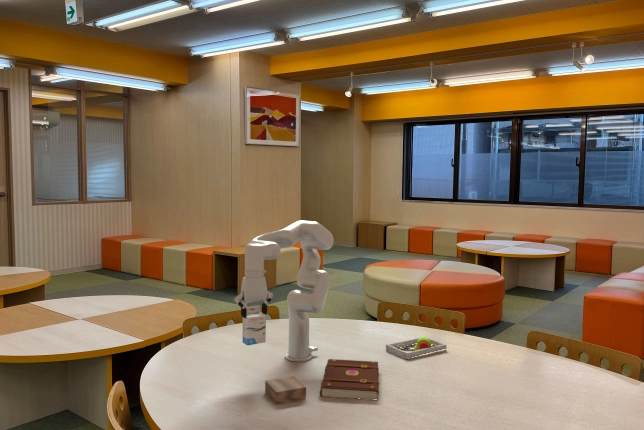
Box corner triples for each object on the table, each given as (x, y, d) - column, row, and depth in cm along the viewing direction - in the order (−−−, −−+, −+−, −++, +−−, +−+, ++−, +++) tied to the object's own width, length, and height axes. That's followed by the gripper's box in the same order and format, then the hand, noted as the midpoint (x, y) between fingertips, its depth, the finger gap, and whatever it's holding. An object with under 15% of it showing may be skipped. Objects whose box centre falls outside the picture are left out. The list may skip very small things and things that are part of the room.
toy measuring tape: (436, 354, 254) (436, 340, 253) (395, 350, 258) (396, 337, 257) (436, 349, 260) (436, 336, 260) (396, 346, 264) (396, 333, 264)
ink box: (247, 346, 212) (247, 310, 211) (242, 342, 217) (241, 307, 215) (266, 342, 217) (266, 307, 216) (260, 338, 221) (260, 304, 220)
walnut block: (293, 388, 211) (293, 376, 211) (305, 399, 200) (306, 387, 200) (265, 393, 206) (265, 380, 206) (276, 405, 195) (276, 392, 195)
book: (378, 371, 232) (378, 360, 232) (378, 401, 201) (379, 388, 200) (326, 368, 234) (326, 357, 234) (319, 397, 203) (319, 385, 203)
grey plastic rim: (424, 342, 272) (424, 336, 272) (446, 350, 260) (446, 344, 260) (385, 350, 258) (385, 344, 258) (406, 359, 246) (406, 353, 245)
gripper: (269, 270, 222) (269, 310, 224) (230, 274, 213) (230, 316, 214) (277, 273, 216) (277, 315, 217) (238, 277, 206) (238, 321, 208)
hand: (254, 315), depth 216 cm, fingers closed on ink box, 8 cm apart
